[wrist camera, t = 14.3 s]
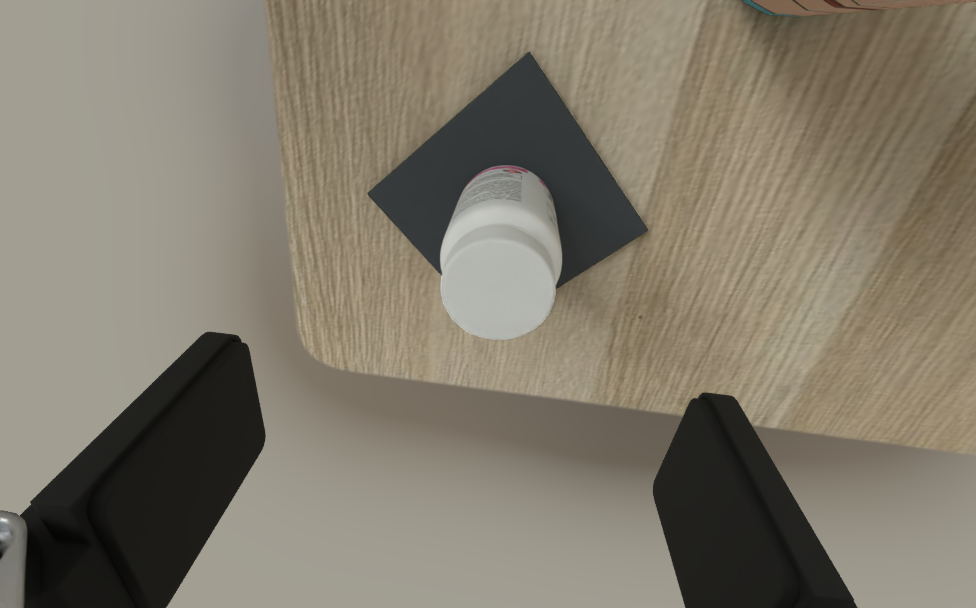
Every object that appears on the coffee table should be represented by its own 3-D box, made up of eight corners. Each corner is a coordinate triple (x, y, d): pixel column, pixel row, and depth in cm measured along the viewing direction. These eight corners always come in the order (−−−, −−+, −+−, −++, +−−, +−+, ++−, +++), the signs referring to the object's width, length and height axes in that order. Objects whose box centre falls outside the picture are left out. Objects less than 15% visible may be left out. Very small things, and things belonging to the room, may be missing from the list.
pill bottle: (442, 227, 24) (404, 312, 16) (488, 144, 21) (468, 198, 14) (522, 271, 25) (520, 369, 17) (573, 195, 22) (596, 271, 15)
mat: (369, 191, 23) (366, 193, 23) (529, 51, 20) (529, 51, 19) (491, 326, 27) (491, 330, 27) (646, 228, 23) (648, 230, 23)
